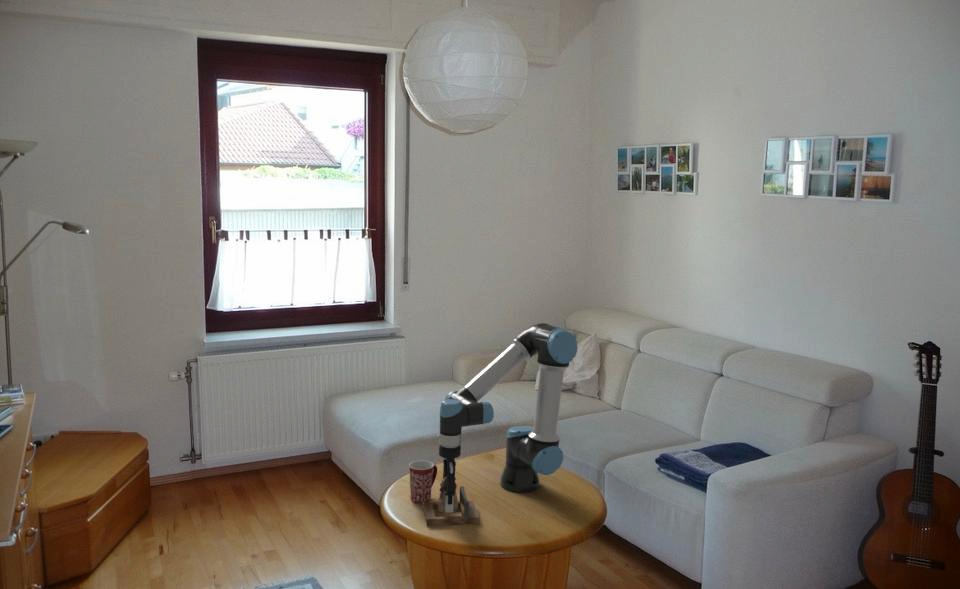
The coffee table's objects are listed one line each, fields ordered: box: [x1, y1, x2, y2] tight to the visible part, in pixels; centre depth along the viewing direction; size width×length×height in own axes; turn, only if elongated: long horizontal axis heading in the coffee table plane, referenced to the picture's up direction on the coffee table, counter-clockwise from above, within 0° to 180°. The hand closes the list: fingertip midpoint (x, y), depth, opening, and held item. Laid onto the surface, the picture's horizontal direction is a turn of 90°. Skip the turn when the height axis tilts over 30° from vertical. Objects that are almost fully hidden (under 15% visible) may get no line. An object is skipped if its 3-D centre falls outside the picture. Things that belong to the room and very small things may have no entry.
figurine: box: [437, 477, 459, 514], centre depth 277 cm, size 7×7×12 cm
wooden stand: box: [422, 486, 480, 527], centre depth 278 cm, size 18×14×8 cm
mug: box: [408, 459, 438, 505], centre depth 292 cm, size 13×9×14 cm
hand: (448, 507), depth 278 cm, fingers closed on figurine, 7 cm apart
